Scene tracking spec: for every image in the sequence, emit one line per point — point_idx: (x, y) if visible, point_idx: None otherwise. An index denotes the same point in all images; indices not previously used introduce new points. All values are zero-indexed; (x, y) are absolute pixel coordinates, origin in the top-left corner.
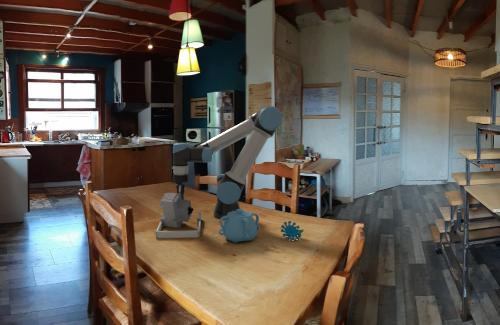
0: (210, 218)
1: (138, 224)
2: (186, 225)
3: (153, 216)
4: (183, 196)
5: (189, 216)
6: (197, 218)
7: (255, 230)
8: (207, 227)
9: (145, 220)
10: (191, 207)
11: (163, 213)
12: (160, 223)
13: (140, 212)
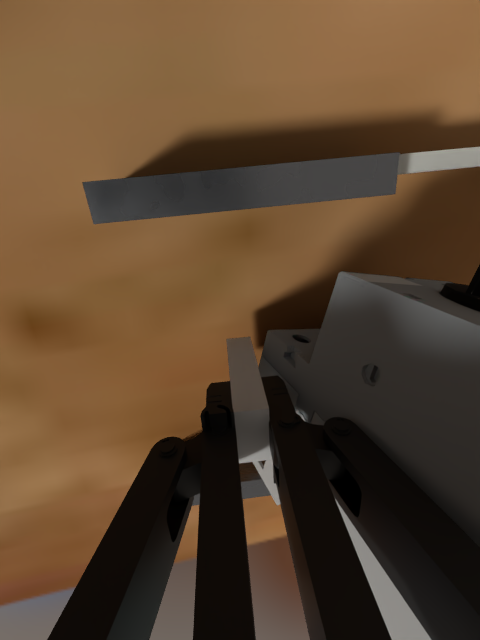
0: (48, 72)
1: (274, 537)
2: (310, 291)
3: (101, 521)
4: (141, 564)
5: (428, 283)
6: (382, 193)
7: None
8: (393, 82)
9: (195, 532)
10: (417, 300)
11: (196, 501)
12: None
13: (30, 590)
